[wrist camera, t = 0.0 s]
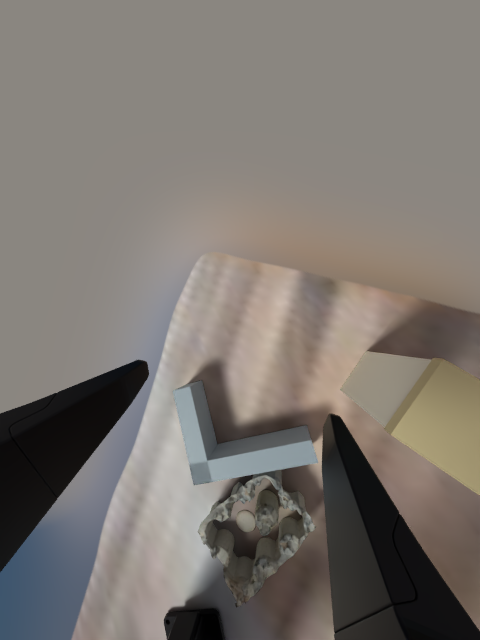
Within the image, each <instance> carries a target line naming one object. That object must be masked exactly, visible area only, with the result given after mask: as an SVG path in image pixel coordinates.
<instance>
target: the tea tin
mask: <svg viewBox="0 0 480 640" xmlns="http://www.w3.org/2000/svg"><path fill="white" fill-rule="evenodd" d="M340 390H341V391H342V392H343V393H345V394H346V395H347V396H348V397H349V398H351V399H352V400H353V401H354V402H355V403H356V404H358V405H359V406H360V407H361V408H362V409H364V410H365V411H366V412H367V413H368V414H370V415H371V416H372V417H373V418H374V419H375V420H377V421H378V422H379V423H380V424H381V425H383V426H384V427H385V428H384V430H386V431H387V432H388V433H389V434H390V435H392V436H393V437H395V438H396V439H398V440H399V441H400V442H402V443H403V444H405V445H406V446H408V447H409V448H411V449H412V450H414V451H415V452H416V453H418V454H419V455H421V456H422V457H424V458H425V459H427V460H428V461H430V462H431V463H433V464H434V465H435V466H437V467H438V468H440V469H441V470H443V471H444V472H446V473H447V474H449V475H450V476H452V477H453V478H454V479H456V480H457V481H459V482H460V483H462V484H463V485H465V486H466V487H468V488H469V489H470V490H472V491H473V492H475V493H476V494H478V495H479V496H480V379H478V378H476V377H474V376H473V375H471V374H469V373H467V372H466V371H464V370H462V369H460V368H459V367H457V366H455V365H453V364H452V363H450V362H448V361H446V360H445V359H441V358H433V359H432V360H430V359H423V358H415V357H407V356H400V355H392V354H384V353H377V352H369V351H366V352H365V354H364V355H363V357H362V358H361V360H360V361H359V362H358V364H357V365H356V367H355V368H354V370H353V371H352V373H351V374H350V376H349V377H348V378H347V380H346V381H345V383H344V384H343V386H342V387H341V389H340Z"/></svg>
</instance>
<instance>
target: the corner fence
mask: <svg viewBox="0 0 480 640" xmlns="http://www.w3.org/2000/svg"><path fill="white" fill-rule="evenodd" d="M173 394H174V398H175V403H176V407H177V412H178V416H179V421H180V425H181V430H182V434H183V439H184V443H185V448H186V452H187V457H188V461H189V466H190V470H191V475H192V479H193V484H194V485H198V484H204V483H209V482H215V481H220V480H226V479H231V478H237V477H242V476H248V475H253V474H259V473H264V472H270V471H275V470H281V469H286V468H292V467H297V466H303V465H308V464H314V463H318V460H317V457H316V454H315V450H314V447H313V444H312V441H311V437H310V434H309V431H308V427H307V425H305V426H300V427H295V428H291V429H286V430H281V431H277V432H272V433H267V434H262V435H258V436H253V437H248V438H243V439H239V440H234V441H229V442H224V443H220V444H217V440H216V436H215V432H214V428H213V424H212V419H211V415H210V411H209V407H208V403H207V399H206V395H205V391H204V386H203V382H202V380H201V381H197V382H193V383H190V384H186V385H184V386H182V387H180V388H178V389H176V390H174V391H173Z"/></svg>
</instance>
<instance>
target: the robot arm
mask: <svg viewBox="0 0 480 640" xmlns="http://www.w3.org/2000/svg"><path fill="white" fill-rule="evenodd" d="M148 375H149V370H148V365H147V362H146V361H143V360H136V361H134V362H132V363H129V364H126V365H124V366H121V367H119V368H117V369H114V370H112V371H109V372H107V373H104V374H102V375H99V376H97V377H94V378H92V379H89V380H87V381H84V382H82V383H79V384H77V385H74V386H72V387H69V388H67V389H65V390H62V391H59V392H58V393H54V394H52V395H50V396H47V397H45V398H42V399H39V400H37V401H34V402H32V403H29V404H26V405H23V406H21V407H18V408H15V409H12V410H9V411H6V412H4V413H1V414H0V572H1V571H2V569H3V568H4V567H5V566H6V564H7V563H8V562H9V561H10V559H11V558H12V557H13V555H14V554H15V553H16V552H17V550H18V549H19V548H20V546H21V545H22V544H23V542H24V541H25V540H26V539H27V537H28V536H29V535H30V534H31V532H32V531H33V530H34V528H35V527H36V526H37V524H38V523H39V522H40V521H41V519H42V518H43V517H44V516H45V514H46V513H47V511H48V510H49V509H50V508H51V507H52V505H53V504H54V503H55V501H56V500H57V498H58V497H59V496H60V495H61V493H62V492H63V491H64V490H65V488H66V487H67V486H68V484H69V483H70V482H71V481H72V479H73V478H74V477H75V475H76V474H77V473H78V472H79V470H80V469H81V467H82V466H83V465H84V464H85V463H86V461H87V460H88V459H89V457H90V456H91V455H92V453H93V452H94V451H95V450H96V448H97V447H98V446H99V445H100V443H101V442H102V441H103V439H104V438H105V437H106V435H107V434H108V433H109V432H110V430H111V429H112V428H113V426H114V425H115V424H116V423H117V421H118V420H119V419H120V418H121V416H122V415H123V414H124V412H125V411H126V410H127V409H128V407H129V406H130V405H131V403H132V402H133V400H134V399H135V397H136V395H137V394H138V392H139V391H140V389H141V388H142V386H143V384H144V383H145V381H146V380H147V378H148ZM322 477H323V491H324V504H325V517H326V530H327V544H328V557H329V570H330V583H331V596H332V610H333V623H334V632H335V634H334V638H335V640H480V631H479V629H478V628H477V627H476V625H475V624H474V622H473V621H472V620H471V618H470V617H469V615H468V614H467V612H466V611H465V610H464V608H463V607H462V605H461V604H460V602H459V601H458V600H457V598H456V597H455V595H454V594H453V593H452V591H451V590H450V588H449V587H448V585H447V584H446V583H445V581H444V580H443V578H442V577H441V575H440V574H439V572H438V571H437V570H436V568H435V567H434V565H433V564H432V562H431V561H430V559H429V558H428V556H427V555H426V553H425V552H424V551H423V549H422V547H421V546H420V544H419V543H418V541H417V540H416V538H415V536H414V535H413V533H412V532H411V530H410V529H409V527H408V525H407V524H406V522H405V521H404V519H403V517H402V516H401V515H400V514H399V511H398V509H397V508H396V506H395V505H394V503H393V501H392V500H391V498H390V496H389V495H388V493H387V492H386V490H385V488H384V487H383V485H382V483H381V482H380V480H379V479H378V477H377V475H376V474H375V472H374V470H373V469H372V467H371V466H370V464H369V462H368V461H367V459H366V458H365V456H364V454H363V453H362V451H361V449H360V448H359V446H358V445H357V443H356V441H355V440H354V438H353V436H352V435H351V433H350V432H349V430H348V428H347V427H346V425H345V423H344V422H343V420H342V419H341V417H340V416H338V415H335V414H329V415H328V417H327V419H326V422H325V424H324V427H323V448H322ZM164 626H165V631H166V636H167V640H225V637H224V632H223V627H222V623H221V618H220V614H219V611H218V610H216V609H205V610H193V611H180V612H168V613H167V614H166V616H165V618H164Z"/></svg>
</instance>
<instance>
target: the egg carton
mask: <svg viewBox="0 0 480 640" xmlns="http://www.w3.org/2000/svg"><path fill="white" fill-rule="evenodd" d="M263 478H266V479H269V480H270V481H271V483H272V484H273V486H274V487H275V489H276V490H279V491H278V495H279V498H280V503H281V505H282V506H283V508H284V509H287V507H288V508H289V509H290V510H291V511H293V510H297V511H298V513H299V514H300V515H302V516H303V518H302V519H300V520H299V521H296V520H295V519H294V518H291V517H286V518H284V519H282V520H281V522H280V524H279V537H278V538H277V540H276V541H274V540H273V539H271V538H268V537H263V538H261V539H260V540H259V541H258V543H257V549H256V557H255V559H253V560H251V559H250V558H248V557H246V556H242V557H239V558H237V556H236V555H235V554H234V552H233V548H234V544H235V541H234V537H233V535H232V533H231V532H230V531H228V530H227V529H220V530H217V529H216V528H215V526H214V524H213V520H214V519H216V520H218V521H220V522H222V521H225V520H226V519H228V518H230V517H231V511H232V508H233V504H234V503H235V502H237V501H238V500H240V501H241V502H242V503H243V504H245V502H246V501H249V502H250V501H251V500H252V499H253V498H254V496H255V486H256V485H258V486H259V485H260V484H261V481H262V479H263ZM281 484H282V471H281V470H275V471H270V472H264V473H259V474H253V479H252V480H250V481H248V482H247V483H246V484H245V485H243V484H241V483H240V482H238V483H237V484H236V485H235V486H234V487H233V490H232V493H231V496H230V497H229V498H228V499H227V500H226V501H224V502H223V503H220V502H219V501H218V502H216V503H215V504H214V505H213V506H212V509H211V511H210V514H209V515H208V516H207V517H206V518H205V519H204V521H203V522H202V523H201V525H200V527H199V530H198V533H199V534H200V536H201V539H202V541H203V544H204V545H205V544H206V545H207V546H208V547H209V549H210V551H211V556H212V558H213V559H215V558H216V555H217V557H218V558H219V560H220V561H221V562H222V564H223V565H224V569H223V571H224V578H225V581H226V583H227V585H228V587H229V589H230V590H231V591H232V593H233V595H234V597H235V599H236V601H237V603H235V605H236V607H239V606H241V605H242V603H243V602H245V603H246V602H247V601H249V599H250V598H251V597H252V596H255V594H256V593H257V592H258V591H259V590H260V589H261V588H262V586H263V584H264V581H265V579H266V578H267V577H269V576H270V575H272V574H274V573H276V572H277V570H278V568H279V567H280V566H281V565H282V564H283V563H284V562H285V561H286V560H287V559H289V558H291V557H292V556H293V555H294V554H295V553H296V551H297V550H298V549H299V547H300V546H301V544H302V542H303V541H304V540H305V539H306V537H307V535H308V533H309V532H312V531H314V529H315V528H316V526H314V524H313V522H312V519H311V517H310V516H309V514H308V513H307V512H306V508H305V498H304V497H303V496H302V495H301V493H300V492H299V491H296V492H294V493H289V492H286V491H285V490H283V489H282V488H283V487H282V485H281ZM278 504H279V503H278V498H277V496H276V495H275V494H274V493H273V492H271V491H269V490H263V491H261V492H260V493H259V495H258V498H257V504H256V510H255V516H254V515H253V514H252V513H251V512H250V511H248V510H243V511H240V512H239V513H238V514H237V516H236V524H237V526H238V527H239V529H240V530H241V531H244V532H251V531H253V530H254V529H255V527H256V525H257V527H258V529H259V530H260V534H261V535H262V536H266V535H268V534H269V533H270V532H271V530H272V529H273V528H274V527H275V526H276V525H277V523H278Z"/></svg>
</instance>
